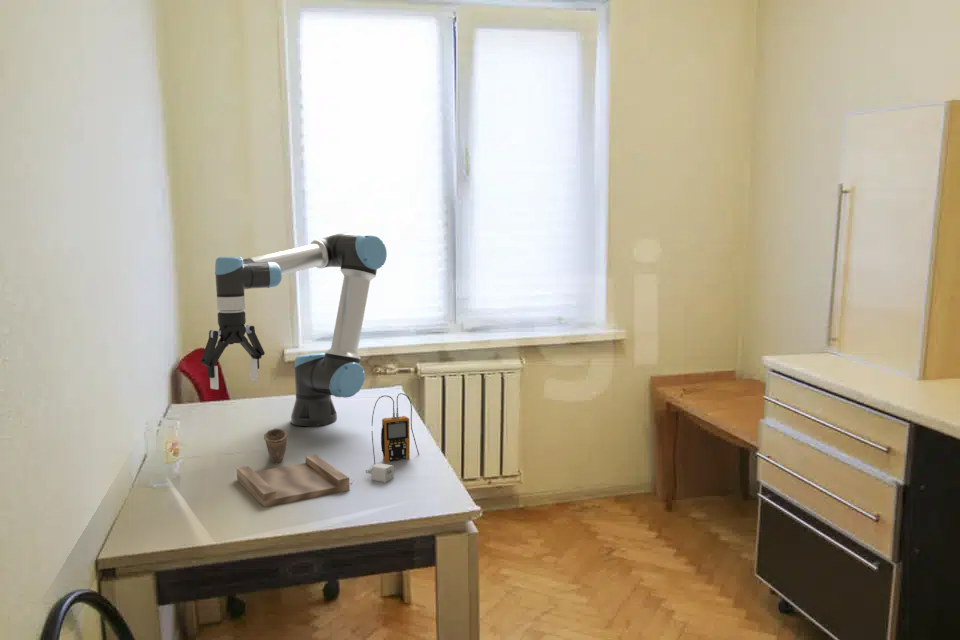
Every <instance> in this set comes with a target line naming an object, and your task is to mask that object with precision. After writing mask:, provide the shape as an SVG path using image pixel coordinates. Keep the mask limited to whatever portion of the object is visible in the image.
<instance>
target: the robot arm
mask: <svg viewBox="0 0 960 640" xmlns="http://www.w3.org/2000/svg"><path fill="white" fill-rule="evenodd" d="M387 254H388V253H387V247H386V244H385V243H384V241H383V239H382V238H381V237H380V236H379V235H377V234H375V233H371V232H370V233H369V232H363V231H362V232H341V233H335V234H333V235H329V236H326V237H322V238H319V239H314V240H312V241H311V242H310V244H307V245H301V246H298V247H297V246H296V247H293V248H289V249H283V250H280V251H274V252H270V253H265V254H261V255H257V256H253V257H252V256H251V257H248V258H243V257H242V256H218V257H217V258H216V259H215V264H214V265H215V269H214V270H215V272H214V275H215V287H216V290H215V291H216V308H217V310H218V312H217V324H218V327H219V329H218V330H212V329H211V330H209V331H208V340H207V342H206V345H205V349H204V350H203V354H202V356H201V358H200V364H201V365H203V366H206V368H207V377H208V378H209V382H210V383H209V384H210V389H211V390H219V389H220V387H219V386H220V385H219V383H220V382H219V369H218V368H219V367H218V365H216V364H217V363H218V361H219V359H220V358H221V356H222V355H223V353H224V351H225V349H226V348H227V347H228V346H229V345H234V344H240V345H241V346H242V348H243V349H244V350H245V351H246V352H247V354H248V355H249V356H250V358H248V361H249V362H248V363H249V365H248V367H249V381H253V382H258V381H259V373H258V372H259V369H260V359H262V356H265V354H266V353H265V351H264V348H263V346H262V344H261V342H260V340H259V338H258V336H257V334H256V330H255V325H246V322H247V321H246V312H245V311H244V310H245V309H246V299H245V298H246V297H245V290H249V289H265V288H267V289H269V288H273V287H274V288H275V287H277V286H279V284H280V283H281V281H282V279H283V278H282V276H283V275H288V274H292V273H295V272H300V271H304V270H308V269H311V268H317V269H325V268H340V272H341V273H342V274H343V280H342V285H341V290H340V292H341V293H340V296H339V301H338V302H339V303H338V308H337V312H336V313H337V315H336V318H335V325H334V330H333V336H332V341H331V346H330V348H329V349H328V350H327V351H324V352H316V353H307V354H301V355H298V356H296V357H295V359H294V366H293V367H294V368H293V369H294V383H295V388H294V389H295V402H294V405H293V408H292V412H291V415H290V421H291V424H293V425H295V426H300V427H318V426H326V425H330V424H333V423H335V422H337V420H338V414H337V413H338V412H337V410H336V408H335V405H334V403H333V399H332V396H334V397H336V398H346V399H348V398H352V397H353V396H355V395H356V394H357V393H359V392H360V391H361V389H362V388H363V386H364V384H365V379H366V373H365V370H364V368H363V366H362V365H361V356H360V355H359V352H358V350H359V343H360V339H361V333H362V328H363V322H364V317H365V312H366V305H367V299H368V294H369V288H370V283H371V281H372V280H374V278H376V277H377V276H376V275H377V271H378V269H380V268H382V266H384V265H385V263H386V260H387V256H388V255H387ZM245 325H246V326H245ZM245 334H246V335H247V337H246V336H245Z"/></svg>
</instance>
